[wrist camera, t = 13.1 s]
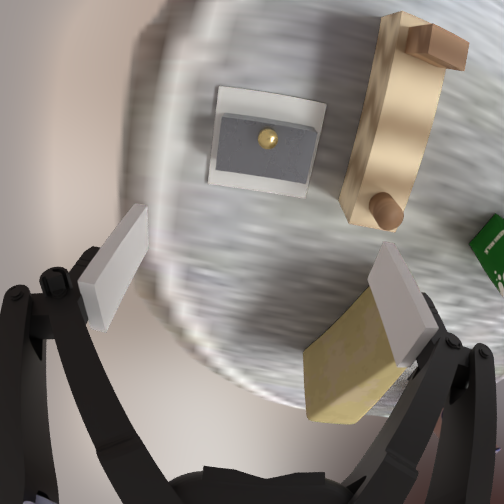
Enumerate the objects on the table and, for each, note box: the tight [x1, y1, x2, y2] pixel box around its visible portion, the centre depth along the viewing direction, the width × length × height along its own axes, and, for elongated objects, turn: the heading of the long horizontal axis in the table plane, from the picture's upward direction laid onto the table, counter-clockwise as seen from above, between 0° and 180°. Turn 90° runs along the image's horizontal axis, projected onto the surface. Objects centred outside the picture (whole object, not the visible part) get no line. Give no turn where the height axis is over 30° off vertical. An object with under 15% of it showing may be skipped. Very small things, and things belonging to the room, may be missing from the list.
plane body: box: [338, 11, 469, 232], centre depth 27 cm, size 24×6×11 cm, turn 172°
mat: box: [208, 86, 327, 199], centre depth 34 cm, size 12×12×1 cm
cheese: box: [303, 286, 407, 424], centre depth 44 cm, size 22×10×15 cm, turn 161°
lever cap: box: [215, 113, 318, 184], centre depth 33 cm, size 6×10×4 cm, turn 82°
